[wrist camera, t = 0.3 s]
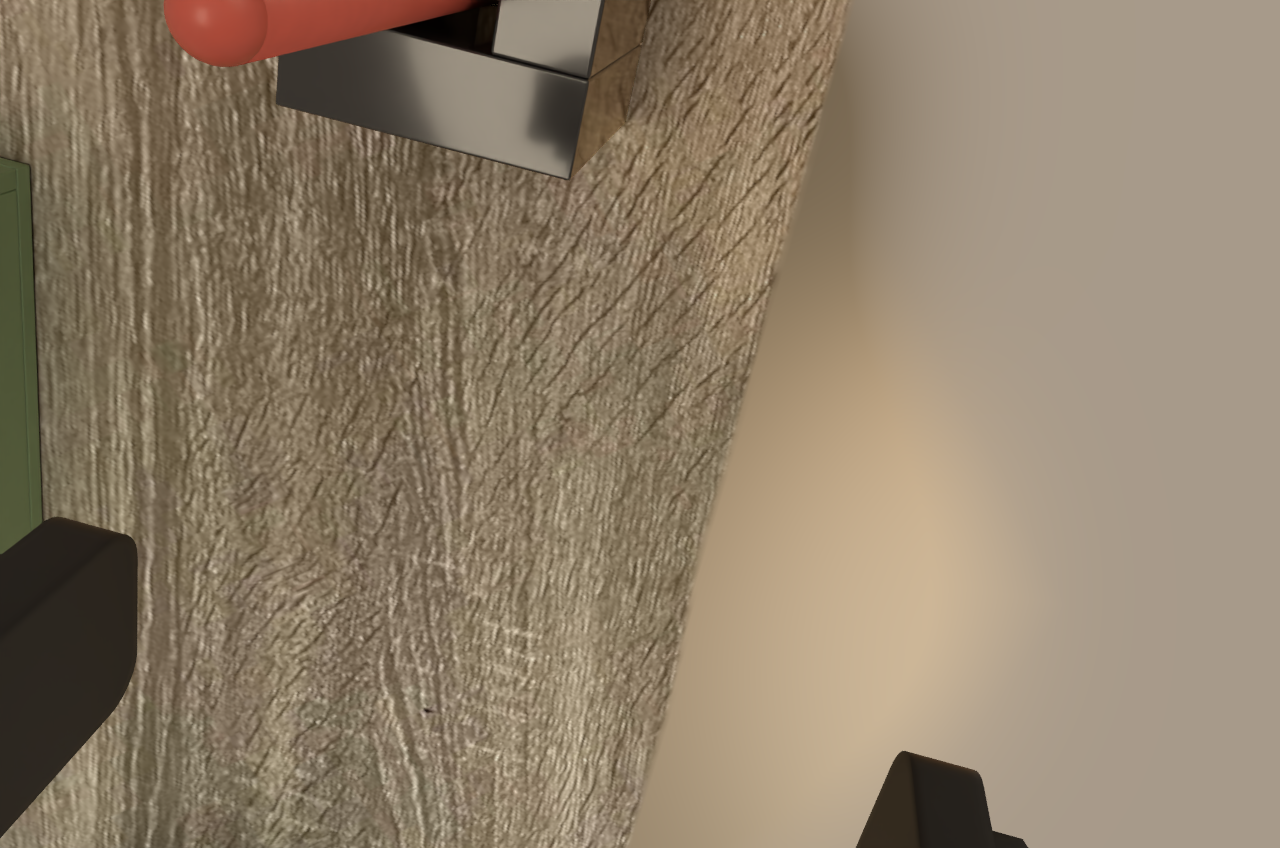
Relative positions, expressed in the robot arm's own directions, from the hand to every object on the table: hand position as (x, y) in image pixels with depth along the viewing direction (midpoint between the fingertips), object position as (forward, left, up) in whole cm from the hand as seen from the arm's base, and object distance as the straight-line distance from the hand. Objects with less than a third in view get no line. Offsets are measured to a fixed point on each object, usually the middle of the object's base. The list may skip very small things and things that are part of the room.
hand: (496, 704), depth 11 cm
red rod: (-5, -5, -20) cm, 21 cm away
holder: (-5, -5, -20) cm, 21 cm away
